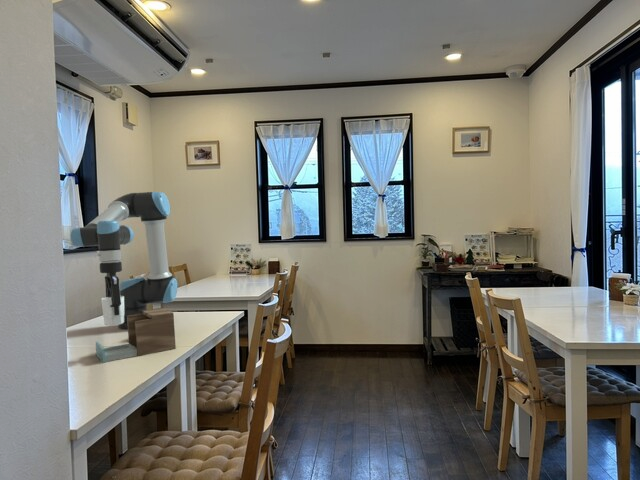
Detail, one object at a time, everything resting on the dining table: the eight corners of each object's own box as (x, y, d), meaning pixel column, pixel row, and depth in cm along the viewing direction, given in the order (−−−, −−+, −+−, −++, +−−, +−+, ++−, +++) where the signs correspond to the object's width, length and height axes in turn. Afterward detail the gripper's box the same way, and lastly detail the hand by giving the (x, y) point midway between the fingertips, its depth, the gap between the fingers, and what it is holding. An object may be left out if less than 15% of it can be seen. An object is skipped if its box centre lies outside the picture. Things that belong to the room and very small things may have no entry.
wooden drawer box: (129, 348, 182) (126, 312, 181) (164, 341, 190) (162, 307, 189) (138, 356, 169) (135, 318, 169) (175, 348, 177) (173, 312, 177)
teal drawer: (96, 354, 175) (95, 341, 174) (133, 347, 182) (132, 335, 182) (103, 363, 163) (102, 349, 163) (142, 355, 171) (141, 342, 170)
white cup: (117, 326, 167) (115, 299, 167) (98, 326, 169) (96, 299, 168) (130, 321, 175) (128, 295, 174) (112, 321, 176) (110, 295, 176)
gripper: (95, 261, 177) (99, 319, 178) (104, 264, 160) (108, 328, 161) (115, 259, 181) (119, 316, 182) (127, 262, 164) (131, 324, 165)
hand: (114, 321), depth 172 cm, fingers closed on white cup, 7 cm apart
